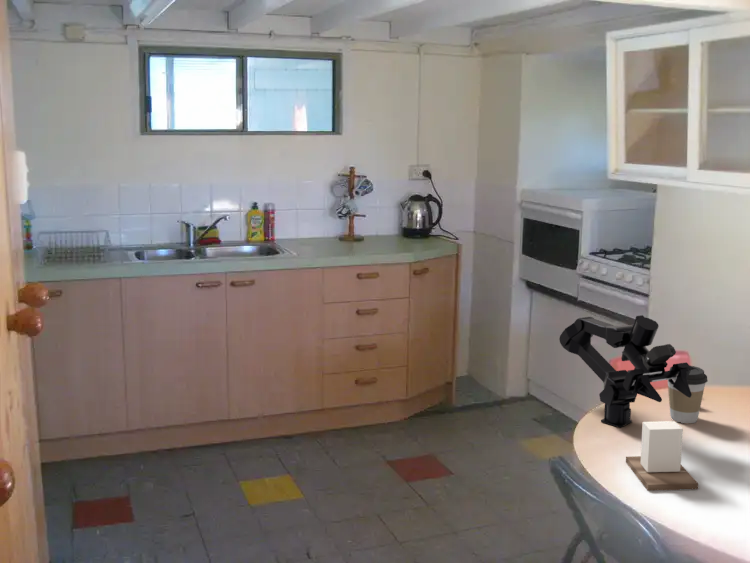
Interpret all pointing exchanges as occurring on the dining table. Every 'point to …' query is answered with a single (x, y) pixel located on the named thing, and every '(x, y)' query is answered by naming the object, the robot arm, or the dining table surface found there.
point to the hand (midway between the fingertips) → (675, 398)
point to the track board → (661, 477)
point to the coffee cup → (682, 405)
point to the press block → (661, 446)
